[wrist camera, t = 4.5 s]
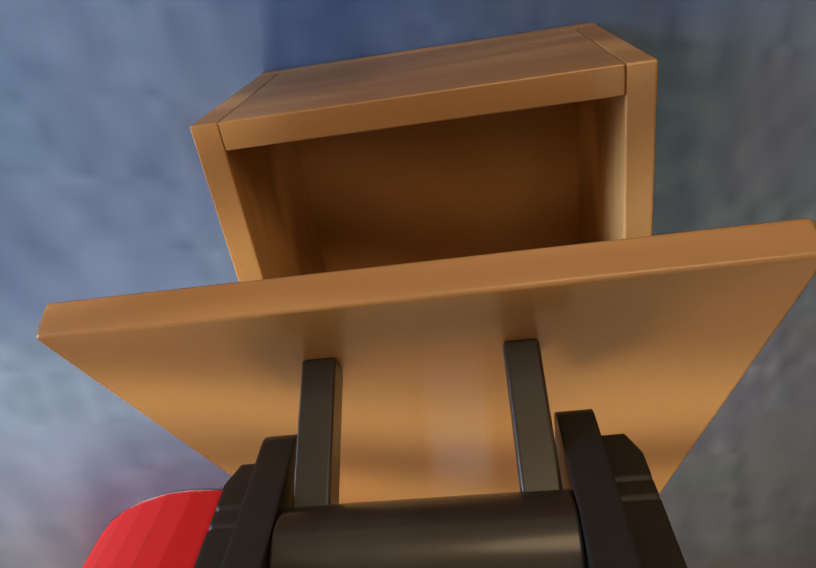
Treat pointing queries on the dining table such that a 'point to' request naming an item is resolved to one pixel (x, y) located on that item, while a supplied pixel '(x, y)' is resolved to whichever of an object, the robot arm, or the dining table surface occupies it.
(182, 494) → the toy clock
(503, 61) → the chest
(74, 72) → the dining table surface
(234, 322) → the lid
